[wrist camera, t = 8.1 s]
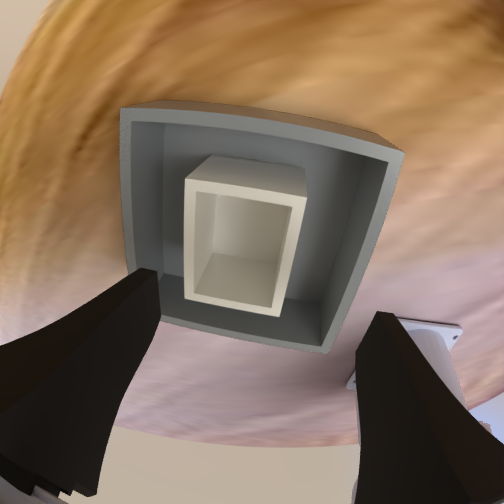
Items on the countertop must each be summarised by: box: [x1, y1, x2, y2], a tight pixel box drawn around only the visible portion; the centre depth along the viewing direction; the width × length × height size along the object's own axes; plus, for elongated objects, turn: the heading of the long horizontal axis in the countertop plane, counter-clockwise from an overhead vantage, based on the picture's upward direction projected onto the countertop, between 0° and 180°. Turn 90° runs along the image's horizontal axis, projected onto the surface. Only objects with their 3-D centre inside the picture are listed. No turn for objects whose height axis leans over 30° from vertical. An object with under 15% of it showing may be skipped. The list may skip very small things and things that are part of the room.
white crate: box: [184, 154, 307, 317], centre depth 15 cm, size 6×5×4 cm
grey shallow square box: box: [120, 100, 405, 354], centre depth 16 cm, size 12×12×4 cm
